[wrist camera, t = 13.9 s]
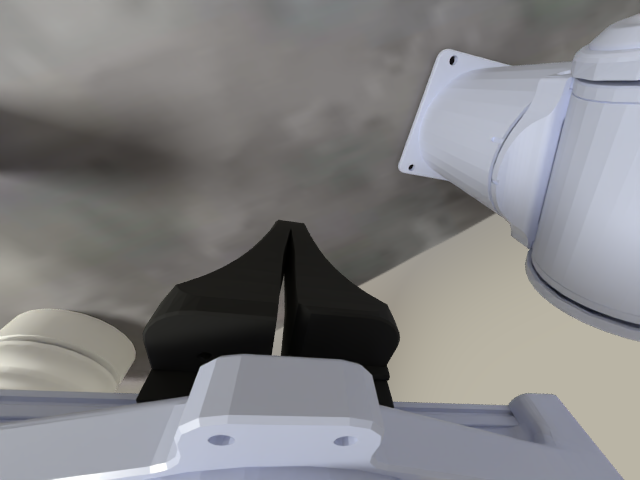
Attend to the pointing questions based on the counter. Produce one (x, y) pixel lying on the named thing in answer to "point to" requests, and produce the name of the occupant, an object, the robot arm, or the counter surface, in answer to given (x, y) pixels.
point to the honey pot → (63, 353)
